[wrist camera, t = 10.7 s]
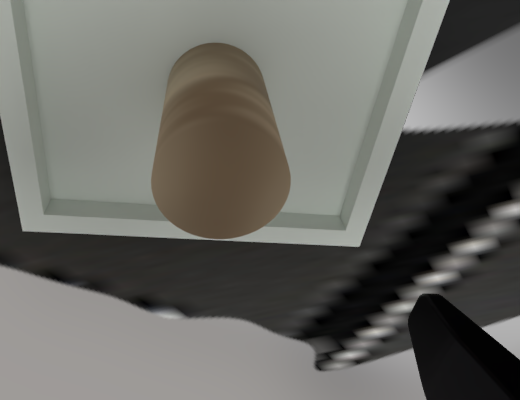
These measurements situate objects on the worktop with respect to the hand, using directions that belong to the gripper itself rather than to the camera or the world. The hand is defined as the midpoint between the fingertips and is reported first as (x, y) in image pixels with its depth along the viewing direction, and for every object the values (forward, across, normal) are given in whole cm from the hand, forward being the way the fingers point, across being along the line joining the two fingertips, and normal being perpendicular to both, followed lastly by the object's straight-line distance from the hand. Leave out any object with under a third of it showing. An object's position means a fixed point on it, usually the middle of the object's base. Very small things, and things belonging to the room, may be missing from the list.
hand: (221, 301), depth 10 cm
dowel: (+11, 0, 0) cm, 11 cm away
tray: (+12, 0, 0) cm, 12 cm away
